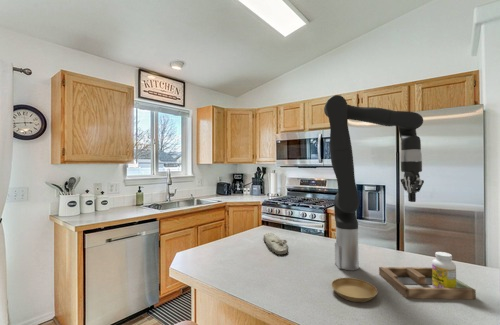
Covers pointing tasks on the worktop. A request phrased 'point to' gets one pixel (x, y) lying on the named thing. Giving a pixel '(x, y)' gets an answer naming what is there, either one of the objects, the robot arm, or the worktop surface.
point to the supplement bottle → (443, 271)
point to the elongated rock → (276, 243)
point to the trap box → (423, 277)
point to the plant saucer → (354, 289)
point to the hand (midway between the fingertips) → (412, 201)
